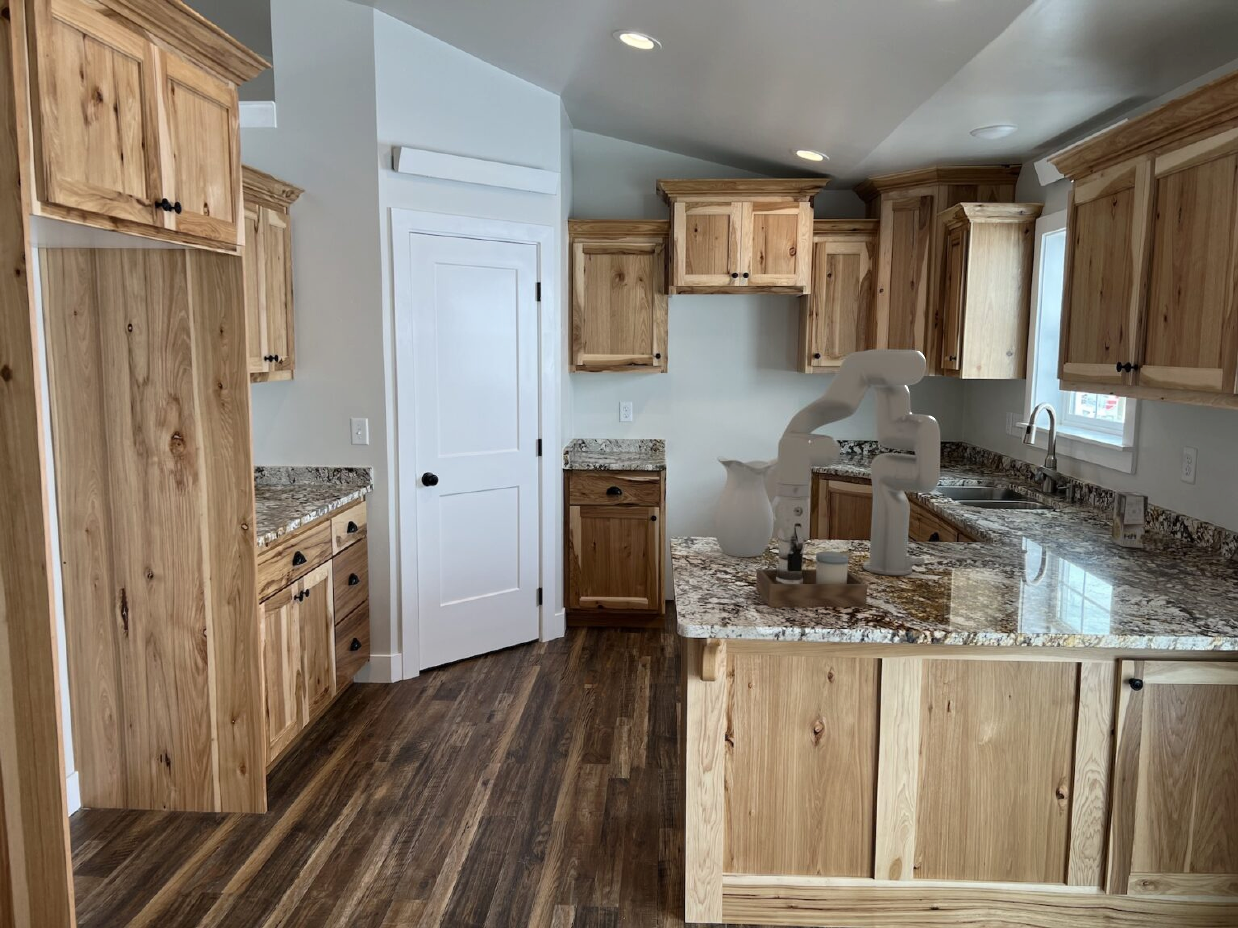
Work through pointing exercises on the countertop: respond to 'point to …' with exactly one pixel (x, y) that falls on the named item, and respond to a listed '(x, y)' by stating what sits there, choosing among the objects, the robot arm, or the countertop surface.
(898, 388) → the robot arm
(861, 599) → the crate
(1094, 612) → the countertop surface
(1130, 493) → the coffee box
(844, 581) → the jar
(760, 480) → the pitcher
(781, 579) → the grey metal bottle
